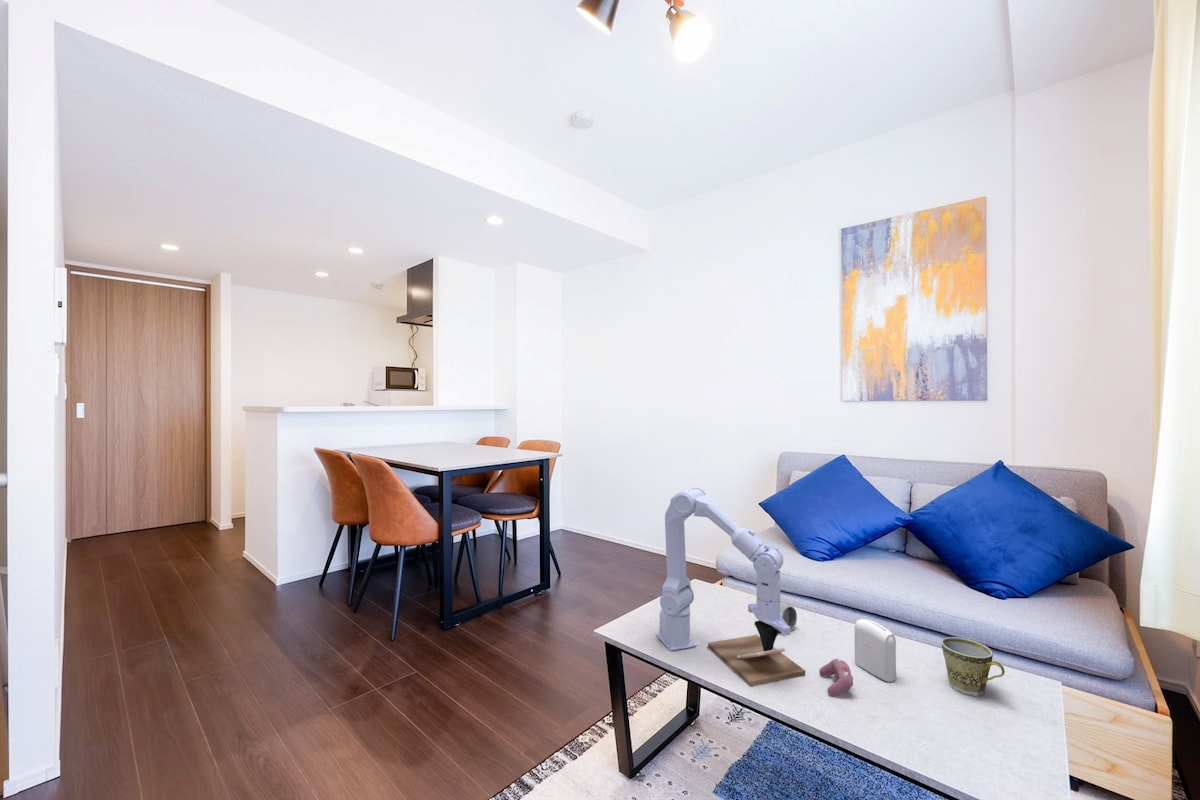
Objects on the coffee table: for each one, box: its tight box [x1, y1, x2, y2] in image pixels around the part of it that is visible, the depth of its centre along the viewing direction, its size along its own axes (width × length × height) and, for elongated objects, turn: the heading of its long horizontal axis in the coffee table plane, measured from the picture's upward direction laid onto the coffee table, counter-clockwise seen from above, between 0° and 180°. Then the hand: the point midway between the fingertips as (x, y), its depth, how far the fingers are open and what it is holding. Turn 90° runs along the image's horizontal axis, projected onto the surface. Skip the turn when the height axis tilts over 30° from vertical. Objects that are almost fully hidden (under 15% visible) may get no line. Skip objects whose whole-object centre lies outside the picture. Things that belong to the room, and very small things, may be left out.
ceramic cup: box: [941, 636, 1006, 697], centre depth 119 cm, size 13×10×10 cm
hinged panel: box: [737, 647, 786, 659], centre depth 130 cm, size 9×10×1 cm
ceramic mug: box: [780, 602, 798, 633], centre depth 152 cm, size 11×8×8 cm
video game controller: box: [818, 657, 854, 697], centre depth 121 cm, size 10×5×7 cm, turn 169°
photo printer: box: [854, 618, 897, 683], centre depth 128 cm, size 10×4×12 cm, turn 20°
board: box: [707, 634, 806, 687], centre depth 133 cm, size 20×16×1 cm
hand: (767, 651), depth 128 cm, fingers closed, pressing on hinged panel
